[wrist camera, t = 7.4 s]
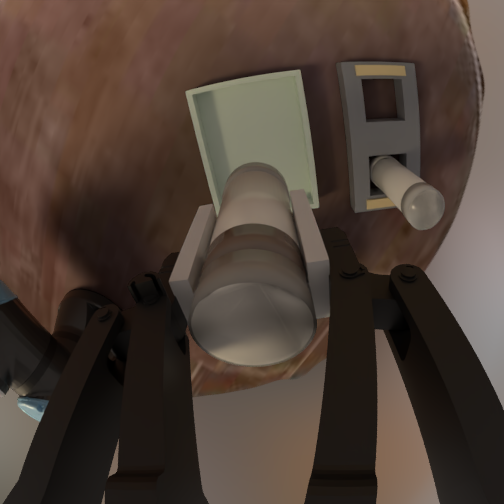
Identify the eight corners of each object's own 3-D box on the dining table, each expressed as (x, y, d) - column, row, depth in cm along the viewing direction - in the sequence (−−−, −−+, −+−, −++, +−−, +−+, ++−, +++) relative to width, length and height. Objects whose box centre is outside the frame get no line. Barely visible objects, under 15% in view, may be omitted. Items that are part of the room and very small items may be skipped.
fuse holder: (411, 198, 35) (419, 205, 33) (350, 205, 36) (356, 214, 34) (405, 63, 26) (415, 63, 24) (335, 63, 27) (341, 62, 25)
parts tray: (315, 199, 36) (319, 207, 34) (221, 214, 37) (218, 223, 35) (297, 70, 28) (300, 69, 26) (190, 90, 29) (185, 91, 27)
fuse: (367, 186, 35) (406, 232, 25) (365, 154, 33) (408, 190, 22) (396, 183, 34) (442, 227, 24) (396, 152, 32) (446, 187, 22)
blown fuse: (232, 224, 21) (209, 370, 11) (218, 168, 19) (169, 288, 9) (291, 215, 20) (318, 359, 10) (282, 157, 18) (313, 269, 8)
